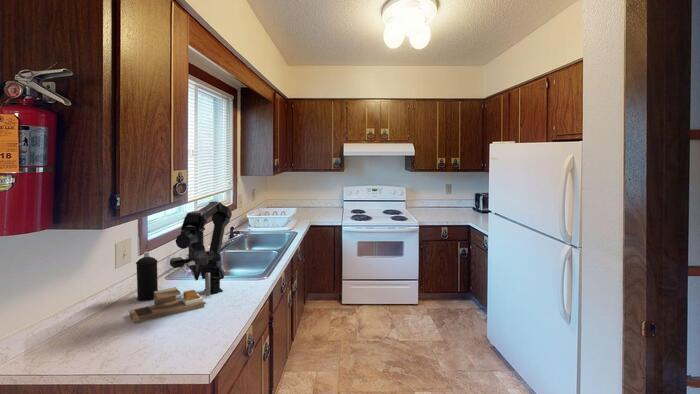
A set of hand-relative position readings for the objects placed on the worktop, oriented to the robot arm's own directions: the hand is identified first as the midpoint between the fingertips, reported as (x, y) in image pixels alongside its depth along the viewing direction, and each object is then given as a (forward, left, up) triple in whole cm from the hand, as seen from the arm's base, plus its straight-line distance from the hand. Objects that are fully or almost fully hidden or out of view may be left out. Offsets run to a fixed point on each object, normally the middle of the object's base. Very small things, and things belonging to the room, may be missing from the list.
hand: (196, 280), depth 149 cm
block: (0, -3, -9) cm, 9 cm away
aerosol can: (-20, -14, -11) cm, 27 cm away
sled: (0, 0, -8) cm, 8 cm away
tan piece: (0, -11, -11) cm, 15 cm away
